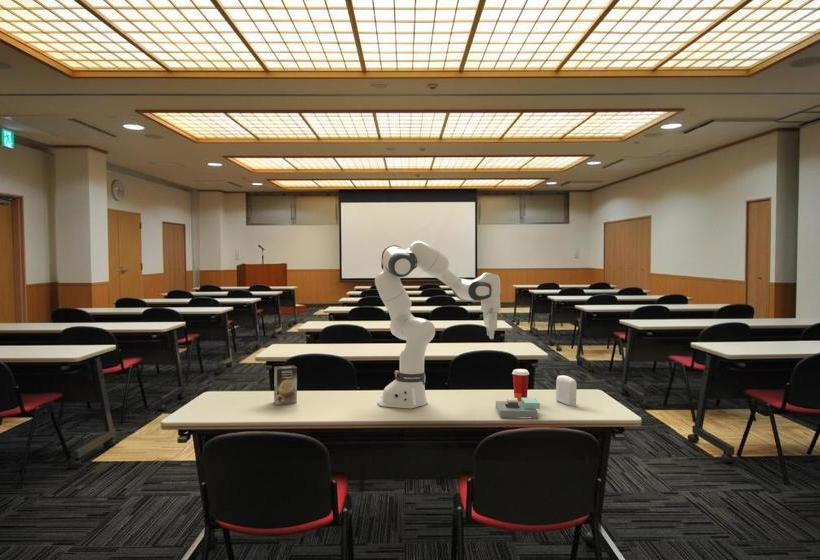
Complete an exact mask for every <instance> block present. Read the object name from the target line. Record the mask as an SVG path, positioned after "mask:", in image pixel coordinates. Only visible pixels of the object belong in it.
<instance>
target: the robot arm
mask: <svg viewBox="0 0 820 560" xmlns="http://www.w3.org/2000/svg"><path fill="white" fill-rule="evenodd" d="M380 265H381V269H382V271H380V272H378V274H377V275H376V276H375V278H374V284H375V287H376V290H377V293H378V294H379V297H380V300H381V301H382V303H383V304H384V306H385V308H386V310H387V312H388V314H389V317H390V325H389V331H390V332H391V334H392V335H393V336H395V338H398V339H399V340H403V341H406V342H405V345H404V350H403V351H401V352H400V353H399V370H394V380H393V381H391V382H390V383H388V384H387V385H386V386H385V387H384V388H383V391H382V395H381V396H380V397H379V398H378V399H377V405H378V406H379V407H382V408H384V407H385V408H399V409H401V408H402V409H414V408H415V409H416V408H417V407H423V406H425V405H427V404H428V400H427V394H426V389H425V386H426V385H425V384H426V372H425V355H426V350H427V347H428V345H429V343H430V342H432V340H433V339H434V337H435V335H436V327H435V325H434V323H433V322H432V321H430V320H428V319H426V318H422V317H415V316H414V315H413V314H412V311H411V308H412V306H413V305H412V300H411V298H410V296H409V294H408V292H407V291H406V288H405V287H404V285H403V283H402V281H401V278H404V277H407V276H408V275H410V274H411V273H412V272H413V271H414V270H415V269H416V268H419V269H420V270H421V271H423V272H425V273H426V274H428V275H429V276H432V277H434V278H436V279H438V280H439V281H440V282H442V283H443V284H445V286H447V287H448V288H449V289H450V290H451V291H452V293H453V295H454V296H455V297H456V299H459V300H462V301H471V302H472V301H473V302H479V301H480V311H481V312H482V316H483V323H484V326H486V328H485V329H486V335H487V337H489V339H490V340H494V338H495V331H497V329H498V313H499V312H501V299H500V298H501V297H500V295H501V279H500V276H499V275H498V273H494V272H489V271H488V272H487V271H486V272H483V273H482V274H481V275H479V276H477V277H476V278H473V279H468V278H463V277H459V276H457V275H456V274H455V273H454V272H452V270H450V269H449V266H450V261H449V259H448V257H447V256H446V255H445V254H444V253H442V252H441V251H440V250H438V249H437V248H436V247H434V246H433V245H430V244H429V243H426V242H424V241H421V240H417V241H414V242H412V243H411V244H410V245H409V247H408V248H406V249H404V248H402V247H401V246H399V245H395V244H393V245H389V246H386V247H385V248H384V249H383V251H382V253H381V264H380Z"/></svg>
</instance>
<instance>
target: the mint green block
mask: <svg viewBox="0 0 820 560" xmlns="http://www.w3.org/2000/svg"><path fill="white" fill-rule="evenodd" d="M521 404H522V405H523V407H524V408H525V409H536V410H540V402H539V401H538V399H537V397H527V398H521Z"/></svg>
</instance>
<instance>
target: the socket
mask: <svg viewBox="0 0 820 560" xmlns="http://www.w3.org/2000/svg"><path fill="white" fill-rule="evenodd" d="M496 409H497V410H496ZM495 410H496V412H497V411H498V412H497V414H498V416H499V418H500V417H508V418H507V419H518V418H517V417H531V418H530V419H538V409H525V408H524V407H523V405H522V404H521V401H518V408H507V400H495ZM509 417H511V418H509Z"/></svg>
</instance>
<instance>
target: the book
mask: <svg viewBox="0 0 820 560" xmlns="http://www.w3.org/2000/svg"><path fill="white" fill-rule="evenodd" d="M555 382H556V383H555V384H556V385H555V387H556V388H555V400H556V401H557V402H560V403H562V404H564V405H566V406H570V407H575V406H576V405H577V385H578V384H577V381H576V379H574V378H573V377H571V376H568V375H557V378H556V381H555Z"/></svg>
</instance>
